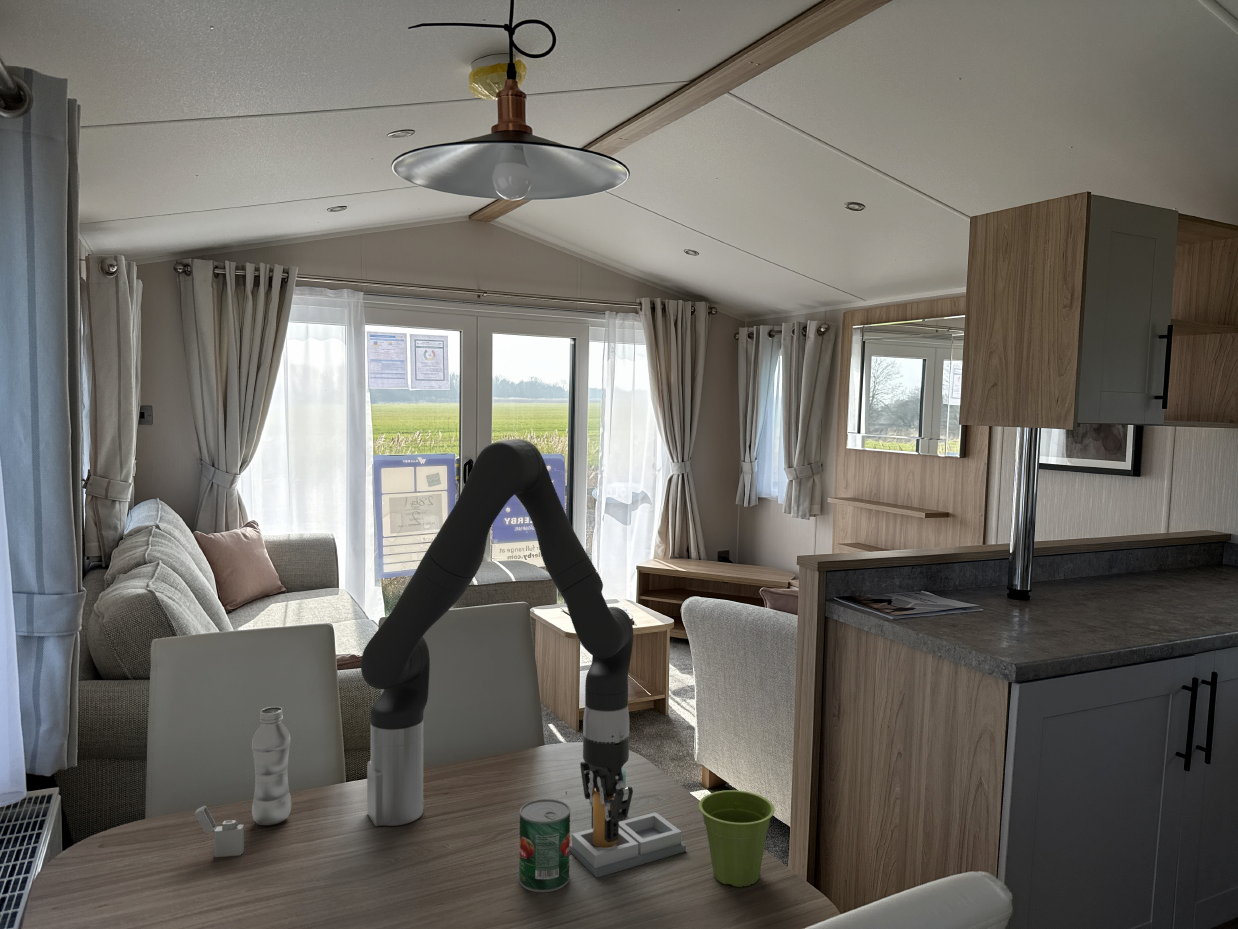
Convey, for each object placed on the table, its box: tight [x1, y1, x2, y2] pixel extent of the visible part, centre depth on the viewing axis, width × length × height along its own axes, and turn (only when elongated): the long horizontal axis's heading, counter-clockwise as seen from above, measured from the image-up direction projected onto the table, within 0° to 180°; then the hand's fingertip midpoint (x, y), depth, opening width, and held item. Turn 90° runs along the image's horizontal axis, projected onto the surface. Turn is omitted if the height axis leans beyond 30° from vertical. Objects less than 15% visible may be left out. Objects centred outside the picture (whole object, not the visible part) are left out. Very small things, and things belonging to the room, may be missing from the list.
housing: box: [570, 812, 687, 878], centre depth 138 cm, size 17×10×3 cm, turn 120°
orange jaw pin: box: [593, 791, 617, 848], centre depth 136 cm, size 4×4×8 cm
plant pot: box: [698, 789, 776, 888], centre depth 131 cm, size 12×12×11 cm
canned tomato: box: [518, 798, 571, 893], centre depth 129 cm, size 8×8×11 cm
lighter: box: [194, 804, 245, 858], centre depth 135 cm, size 7×2×8 cm, turn 101°
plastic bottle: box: [251, 706, 293, 826], centre depth 147 cm, size 6×7×20 cm
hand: (604, 834), depth 136 cm, fingers closed on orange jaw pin, 4 cm apart
